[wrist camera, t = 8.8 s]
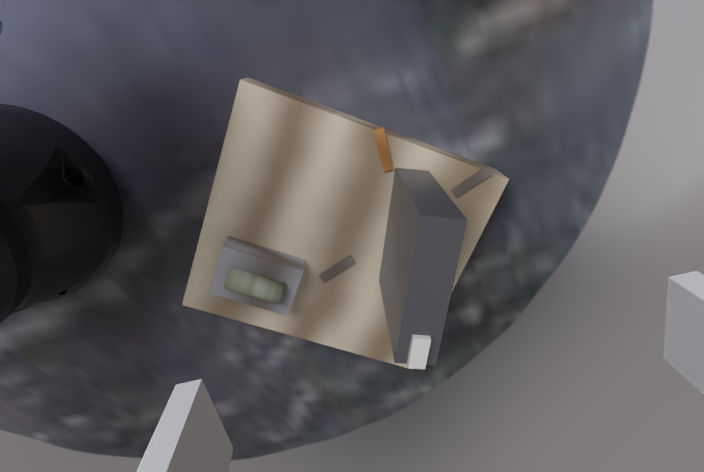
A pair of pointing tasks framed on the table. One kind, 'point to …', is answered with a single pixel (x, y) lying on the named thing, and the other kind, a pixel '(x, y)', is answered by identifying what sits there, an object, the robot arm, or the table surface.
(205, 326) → the table surface
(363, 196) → the instrument base
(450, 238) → the dark grey block
